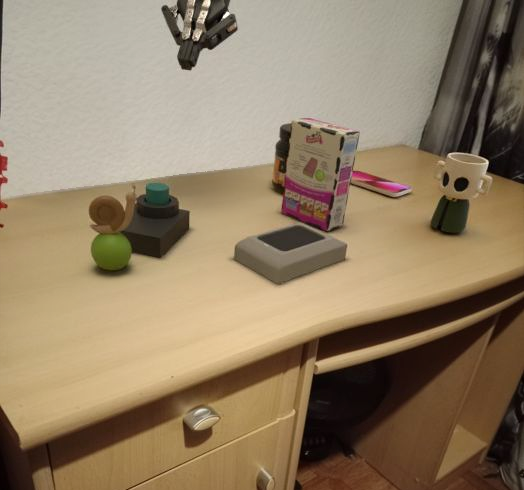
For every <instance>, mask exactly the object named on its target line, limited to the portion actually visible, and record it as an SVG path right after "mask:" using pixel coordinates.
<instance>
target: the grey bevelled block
mask: <svg viewBox="0 0 524 490" xmlns="http://www.w3.org/2000/svg"><path fill="white" fill-rule="evenodd" d="M347 250H348V243H347V242H345V241H342V240H340V239H337V238H335V237H333V236H331V235H329V234H327V233H325V232H323V231H320V230H319V229H316V228H314V227H313V226H311V225H309V224H307V223H304V222H302V221H299V222H296V223H292V224H289V225H286V226H283V227H282V226H281V227H279V228H275V229H272V230H268V231H265V232H261V233H258V234H257V233H256V234H254V235H251V236H247V237H245V238H243V239H241V240H239V241H238V242H236V244H234V254H233V260H235V261H237V262H238V263H240V264H242V265H243V266H245V267H247V268H249V269H250V270H252V271H253V272H255V273H257V274H259V275H261V276H263V277H265V279H268V280H270V281H271V282H273V283H275V284H276V285H279V284H282V283H285V282H288V281H291V280H293V279H295V278H298V277H301V276H304V275H306V274H309V273H312V272H314V271H316V270H319V269H322V268H325V267H327V266H330V265H333V264H335V263H338V262H342V261H343V260H344V261H345V259H346V255H347Z"/></svg>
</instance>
